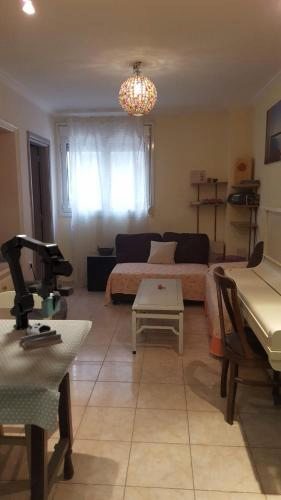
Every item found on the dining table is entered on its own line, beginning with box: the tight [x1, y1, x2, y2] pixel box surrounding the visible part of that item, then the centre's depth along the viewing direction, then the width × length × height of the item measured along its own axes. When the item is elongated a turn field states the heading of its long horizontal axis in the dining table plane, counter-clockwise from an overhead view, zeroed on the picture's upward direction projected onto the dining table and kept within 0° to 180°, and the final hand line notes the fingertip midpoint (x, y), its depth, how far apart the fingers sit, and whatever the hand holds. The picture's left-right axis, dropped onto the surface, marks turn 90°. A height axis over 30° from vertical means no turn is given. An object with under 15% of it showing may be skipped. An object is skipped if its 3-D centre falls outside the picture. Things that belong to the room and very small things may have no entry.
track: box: [18, 329, 64, 351], centre depth 151 cm, size 9×15×3 cm, turn 124°
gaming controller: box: [25, 322, 52, 336], centre depth 161 cm, size 11×6×7 cm
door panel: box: [40, 294, 62, 319], centre depth 156 cm, size 12×2×7 cm, turn 166°
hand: (51, 309), depth 156 cm, fingers closed on door panel, 2 cm apart
